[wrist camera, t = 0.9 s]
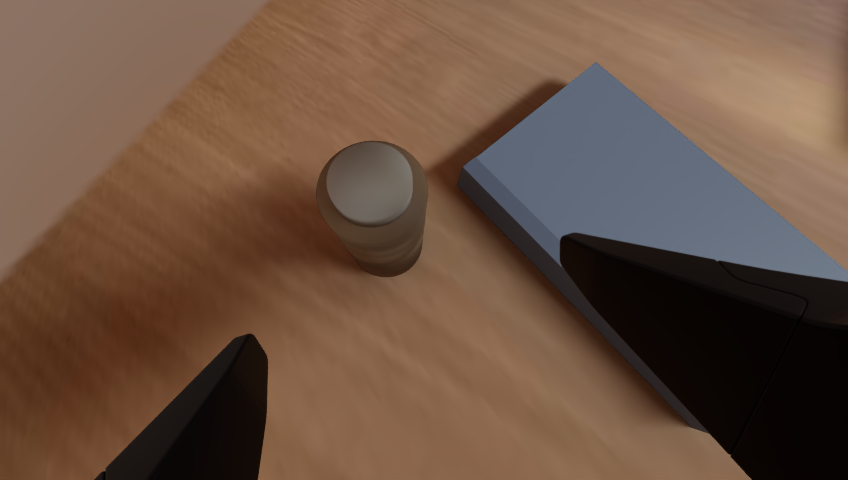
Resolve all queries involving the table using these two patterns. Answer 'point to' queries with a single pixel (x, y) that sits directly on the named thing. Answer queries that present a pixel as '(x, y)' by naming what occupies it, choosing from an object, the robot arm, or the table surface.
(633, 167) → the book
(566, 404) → the table surface
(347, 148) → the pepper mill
